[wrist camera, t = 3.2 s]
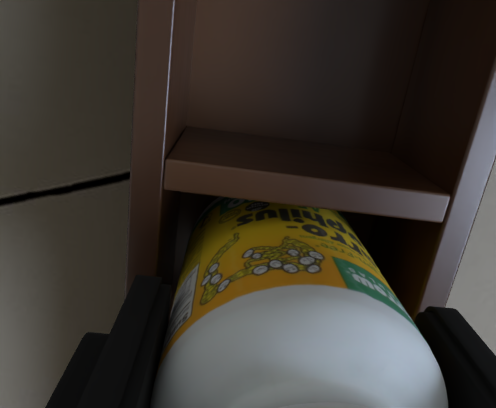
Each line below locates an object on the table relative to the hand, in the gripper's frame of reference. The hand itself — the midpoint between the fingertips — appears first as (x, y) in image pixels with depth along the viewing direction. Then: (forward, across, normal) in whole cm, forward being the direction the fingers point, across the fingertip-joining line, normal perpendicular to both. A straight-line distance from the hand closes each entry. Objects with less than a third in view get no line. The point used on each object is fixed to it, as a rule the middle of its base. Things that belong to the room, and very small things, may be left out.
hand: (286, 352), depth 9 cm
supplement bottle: (+5, 0, 0) cm, 5 cm away
